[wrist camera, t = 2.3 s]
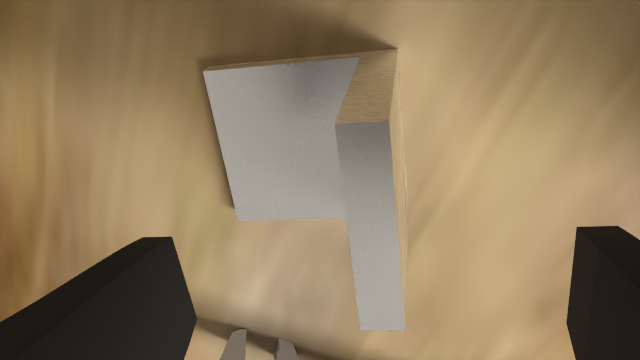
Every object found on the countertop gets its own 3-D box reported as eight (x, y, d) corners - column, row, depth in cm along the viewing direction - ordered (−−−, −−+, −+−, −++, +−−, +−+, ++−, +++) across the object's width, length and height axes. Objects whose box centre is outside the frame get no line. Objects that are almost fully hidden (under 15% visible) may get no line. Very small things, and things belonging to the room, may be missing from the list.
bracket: (398, 48, 14) (388, 121, 9) (407, 206, 16) (405, 331, 11) (210, 66, 15) (115, 138, 10) (243, 211, 17) (177, 326, 13)
